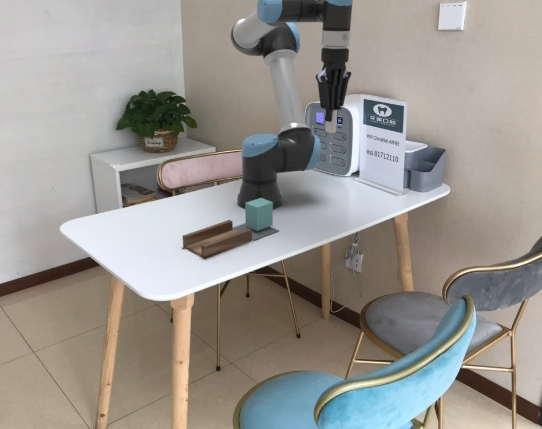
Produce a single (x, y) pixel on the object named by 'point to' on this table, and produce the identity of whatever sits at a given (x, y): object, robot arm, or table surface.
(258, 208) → the block
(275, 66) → the robot arm
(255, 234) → the mat
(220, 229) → the chute
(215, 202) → the table surface
